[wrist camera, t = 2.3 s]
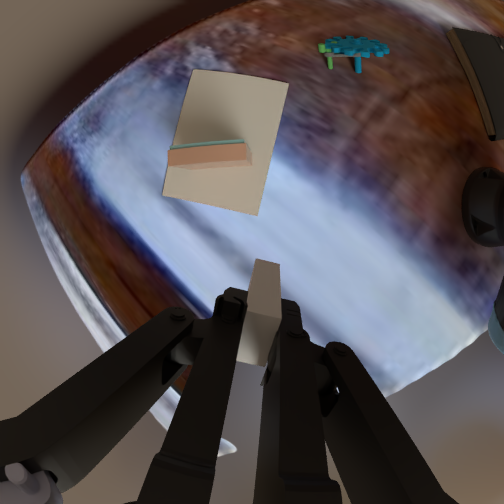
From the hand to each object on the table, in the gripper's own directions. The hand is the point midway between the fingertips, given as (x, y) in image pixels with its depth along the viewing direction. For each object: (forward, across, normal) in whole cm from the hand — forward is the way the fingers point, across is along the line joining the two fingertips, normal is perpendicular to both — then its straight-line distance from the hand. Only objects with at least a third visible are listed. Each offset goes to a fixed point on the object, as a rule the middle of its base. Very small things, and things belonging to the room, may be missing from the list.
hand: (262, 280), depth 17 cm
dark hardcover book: (+27, +46, +46) cm, 70 cm away
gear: (+26, +6, +29) cm, 40 cm away
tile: (+24, -9, +7) cm, 26 cm away
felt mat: (+25, -9, +10) cm, 28 cm away
